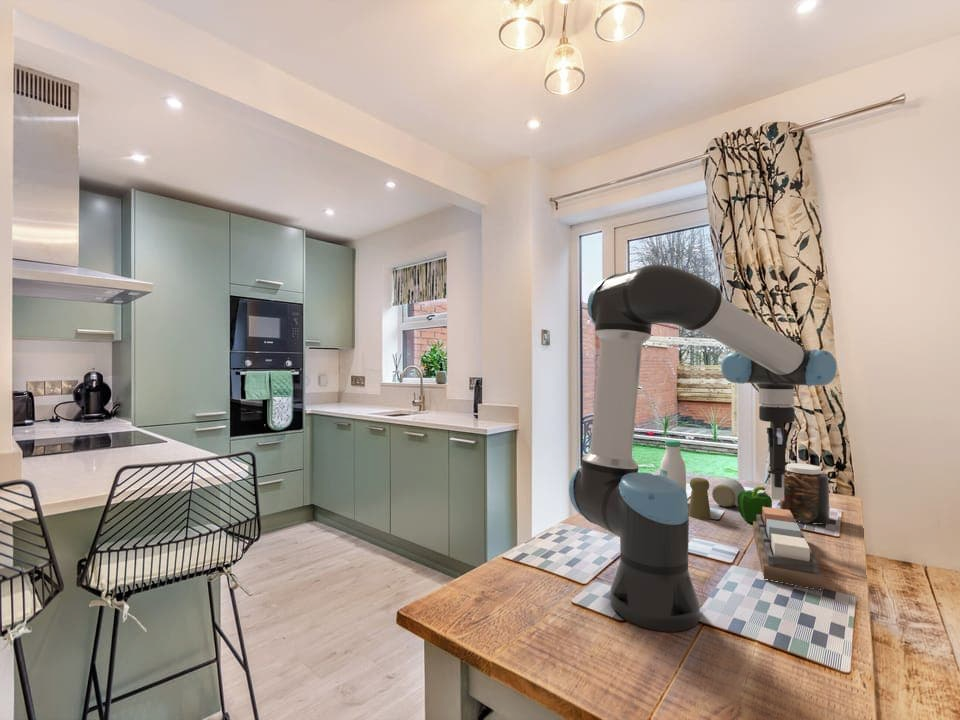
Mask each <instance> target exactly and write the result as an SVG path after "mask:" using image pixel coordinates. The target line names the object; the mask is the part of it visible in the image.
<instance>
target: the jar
mask: <svg viewBox="0 0 960 720" xmlns="http://www.w3.org/2000/svg"><path fill="white" fill-rule="evenodd" d="M785 470H786V473H785V474H784V501H783V500H779V509H785V510H790V511H791V513H792V515H793V517H794V519H795V520H796V521H800V522H804V523H803V524H805V523H826V522H828V521H829V522H830V487H829V484H830V483H829V477H828V475H827V474H824V473H822V467H821V466H818V465H816V464H815V465H814V464H809V463H808V464H807V463H798V462H796V463H795V462H793V463H792V462H791V463H787V464H786V469H785ZM800 522H799V523H800ZM829 522H828V523H829ZM826 524H827V523H826Z"/></svg>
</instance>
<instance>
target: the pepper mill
mask: <svg viewBox="0 0 960 720" xmlns="http://www.w3.org/2000/svg"><path fill="white" fill-rule="evenodd" d="M689 487H690V489H691V494H690V501H689V506H688V508H689V517H690V518H693V519H698V520H710V519H711V518H712V515H711V514H712V513H711V507H710V501H709V500H710V499H709V494H708V490H709V488H710V482H709V481H708V479H706V478H704V477H693V478H691V479H690V481H689ZM710 517H711V518H710ZM709 518H710V519H709Z"/></svg>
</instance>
